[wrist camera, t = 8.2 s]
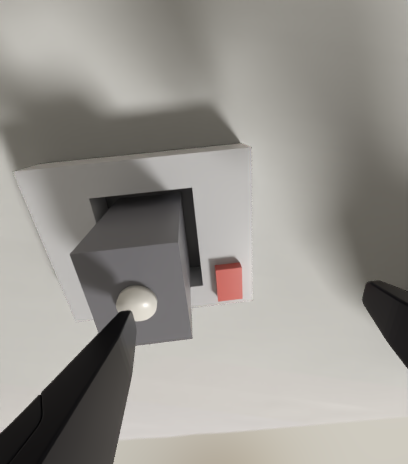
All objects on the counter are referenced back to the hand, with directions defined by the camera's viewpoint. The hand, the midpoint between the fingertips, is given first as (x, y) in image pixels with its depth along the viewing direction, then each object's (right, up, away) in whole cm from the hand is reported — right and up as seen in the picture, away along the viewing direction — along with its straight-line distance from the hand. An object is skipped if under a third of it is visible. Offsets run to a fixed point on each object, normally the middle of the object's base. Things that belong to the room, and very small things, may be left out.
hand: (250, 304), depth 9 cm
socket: (-5, +3, +7) cm, 9 cm away
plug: (-5, +3, +7) cm, 9 cm away
